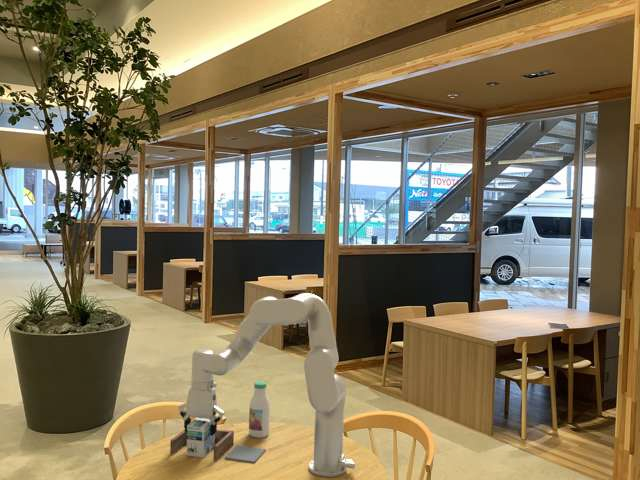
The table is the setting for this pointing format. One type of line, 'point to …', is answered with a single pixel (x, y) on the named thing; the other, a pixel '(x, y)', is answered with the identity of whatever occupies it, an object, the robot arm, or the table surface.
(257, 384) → the milk bottle
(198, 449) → the light bulb box
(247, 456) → the pad
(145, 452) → the table surface
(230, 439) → the cubby
